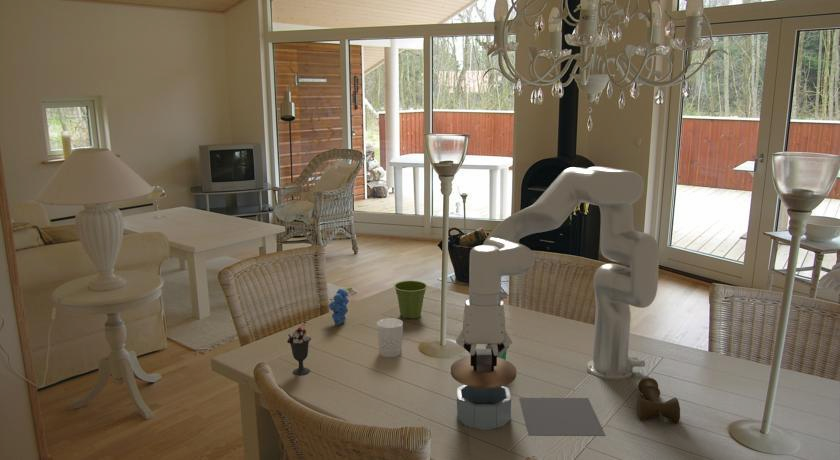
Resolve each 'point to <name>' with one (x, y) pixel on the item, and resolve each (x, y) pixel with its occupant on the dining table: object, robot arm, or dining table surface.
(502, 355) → the food container
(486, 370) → the lid
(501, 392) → the bowl
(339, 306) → the grapes
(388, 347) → the white cup
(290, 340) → the sundae
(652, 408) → the kendama
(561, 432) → the mat
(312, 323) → the dining table surface
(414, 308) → the plant pot
